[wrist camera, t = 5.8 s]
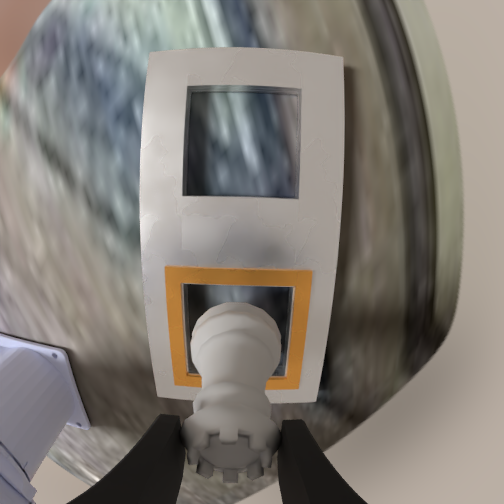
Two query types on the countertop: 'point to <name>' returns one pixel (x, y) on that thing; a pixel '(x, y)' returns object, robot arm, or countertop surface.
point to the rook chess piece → (233, 392)
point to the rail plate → (241, 212)
